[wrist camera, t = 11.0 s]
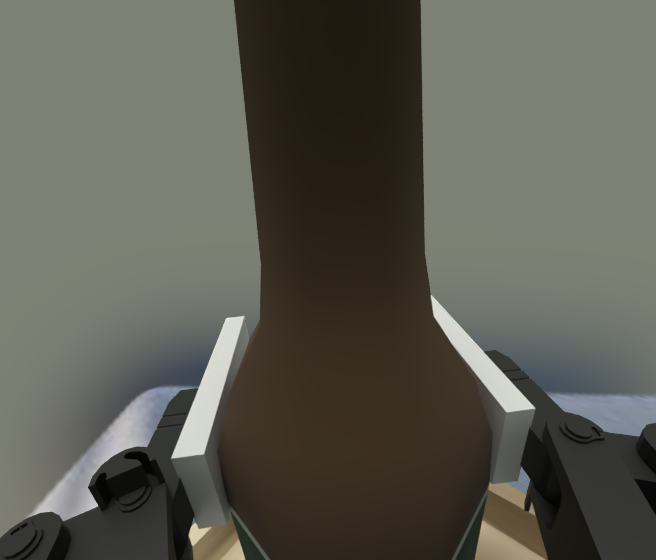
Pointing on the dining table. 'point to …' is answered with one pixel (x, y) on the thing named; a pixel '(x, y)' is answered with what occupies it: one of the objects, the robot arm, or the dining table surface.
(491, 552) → the oak tray
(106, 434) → the dining table surface
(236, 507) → the beer bottle
